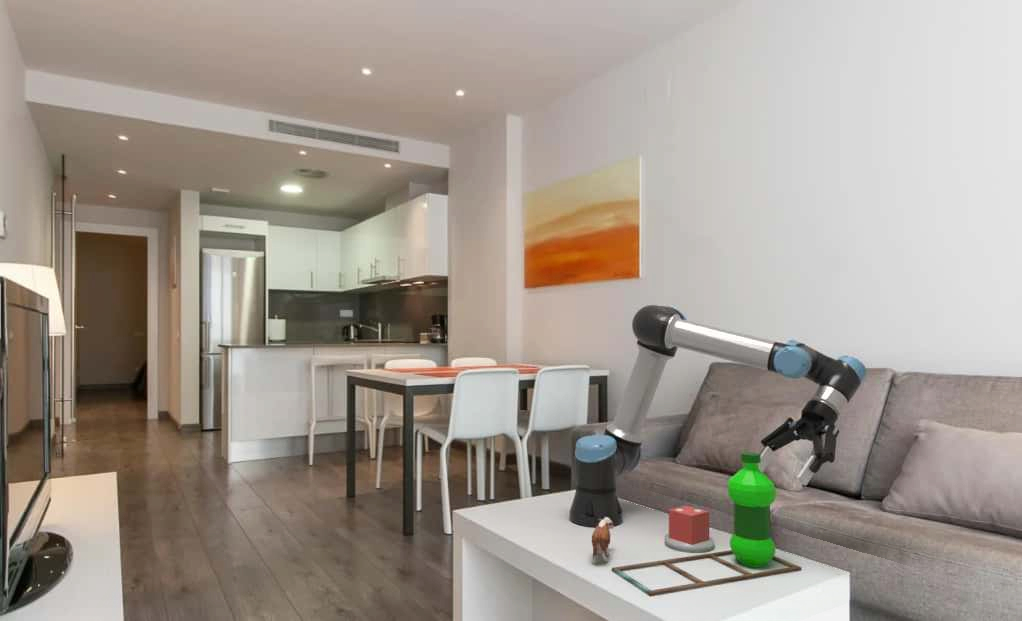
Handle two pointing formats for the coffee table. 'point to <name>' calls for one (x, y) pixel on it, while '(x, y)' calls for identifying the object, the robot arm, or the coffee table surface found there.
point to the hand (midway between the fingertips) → (778, 475)
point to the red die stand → (689, 530)
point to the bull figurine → (601, 538)
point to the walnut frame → (697, 581)
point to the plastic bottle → (752, 513)
